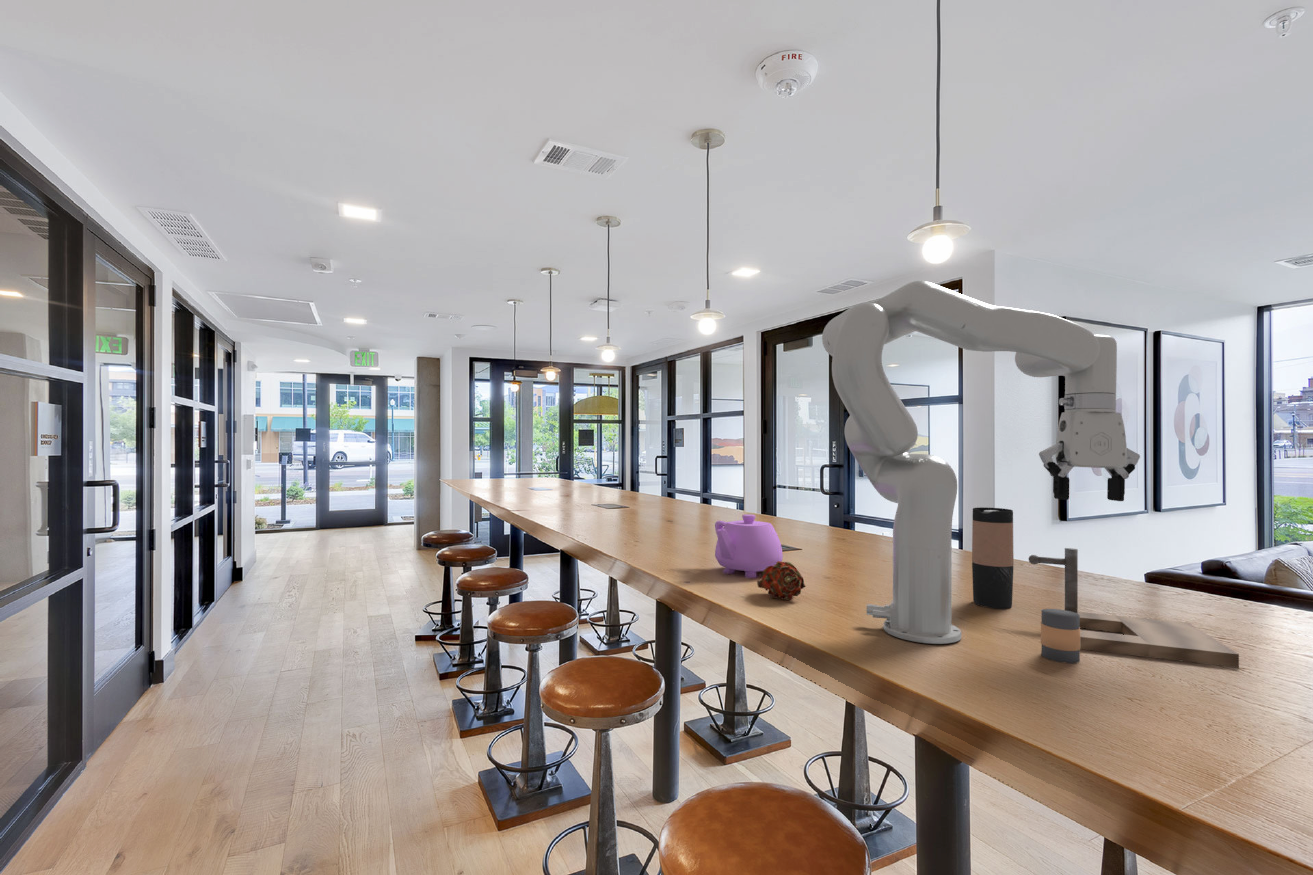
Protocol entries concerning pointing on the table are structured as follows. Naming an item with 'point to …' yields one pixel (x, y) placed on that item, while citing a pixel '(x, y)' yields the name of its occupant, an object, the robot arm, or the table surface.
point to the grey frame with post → (1138, 629)
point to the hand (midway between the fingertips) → (1088, 499)
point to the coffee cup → (1060, 635)
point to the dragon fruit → (782, 580)
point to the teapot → (747, 545)
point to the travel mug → (992, 557)
